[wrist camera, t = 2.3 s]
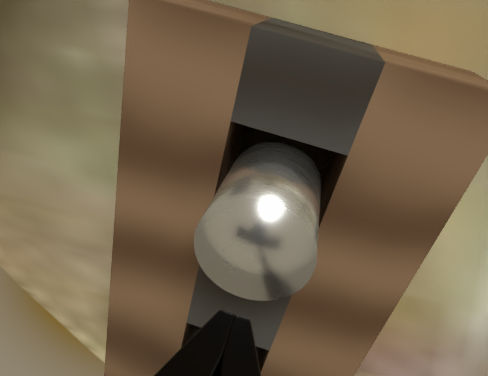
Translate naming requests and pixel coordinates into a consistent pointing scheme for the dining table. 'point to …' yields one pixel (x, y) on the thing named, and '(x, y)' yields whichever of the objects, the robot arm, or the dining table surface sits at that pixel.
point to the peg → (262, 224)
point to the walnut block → (293, 127)
